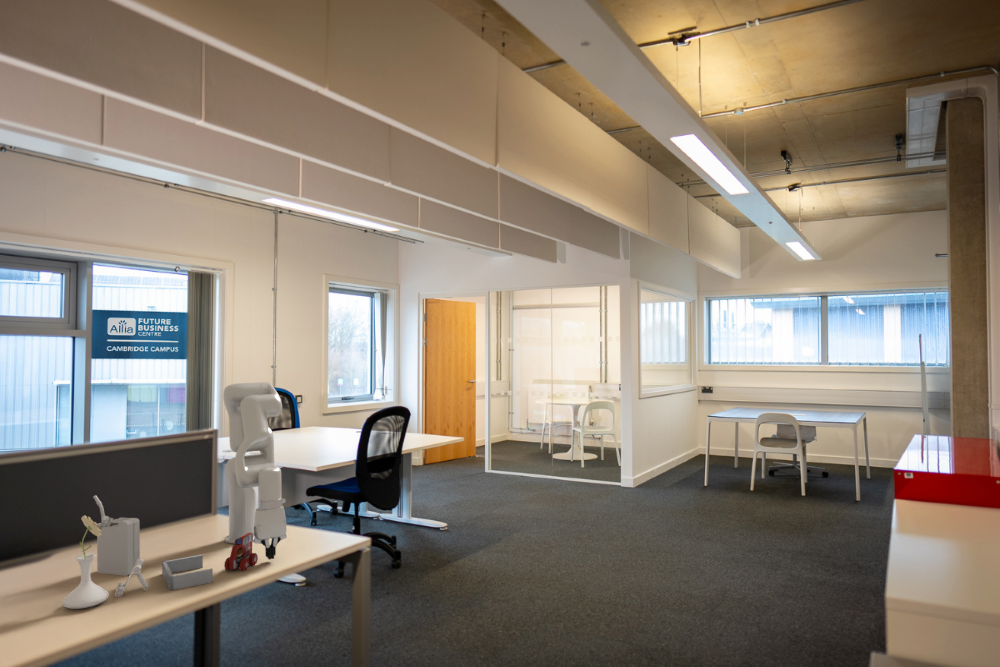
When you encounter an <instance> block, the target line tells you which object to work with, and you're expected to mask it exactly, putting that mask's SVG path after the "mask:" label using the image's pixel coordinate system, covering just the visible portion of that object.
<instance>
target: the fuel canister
mask: <svg viewBox="0 0 1000 667" xmlns="http://www.w3.org/2000/svg"><path fill="white" fill-rule="evenodd" d="M92 498H93V499H94V500H95V503H96V505H97V506H98V507H99V512H100V516H101V517H100V518H101V519H100V520H101V522H99V523H97V525H96V526H97V527H98V528H99V529H100V530H101V532H100V533H101V534H102V536H100V537H98V536H96V537H97V538H96V540H97V541H96V544H97V546H96V547H97V550H96V551H97V552H96V553H97V554H96V556H97V557H96V558H97V560H96V562H97V564H96V565H97V573H99V574H108V575H115V576H117V575H118V576H125V577H127V576H129V575H130V573H131V571H132V569H133V567H134V565H135V562H136V561H137V559H139V558H141V554H140V553H141V552H140V550H141V549H140V548H141V547H140V545H141V544H140V543H141V542H140V540H141V538H140V536H141V535H140V519H139V518H137V517H118V518H115V519H114V518H113V517H110V516H108V515H105V510H104V506H103V503H102V501H101V500H100V499H99V497H98V496H97V495H93V496H92Z"/></svg>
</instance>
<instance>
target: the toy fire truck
mask: <svg viewBox="0 0 1000 667" xmlns="http://www.w3.org/2000/svg"><path fill="white" fill-rule="evenodd" d="M252 540H253V533H247V534H245V535H243V536H242V537H240V538H239V539H236V540H235V544H233V546H232V548H231V551H230V556H228V557H227V558H226V559H225V561H224V565H223V567H224V569H225V571H233V570H236V569H239V570H240V571H241V572H246V571H248V569H249V566H250V567H254V566H256V565H257V563H258V558H259V557H258V554H257V553H256V552H253V541H252ZM255 564H256V565H255Z"/></svg>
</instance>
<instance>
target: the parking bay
mask: <svg viewBox="0 0 1000 667" xmlns="http://www.w3.org/2000/svg"><path fill="white" fill-rule="evenodd" d="M203 559H204V558H203V554H198V555H192V556H186V557H181V558H175V559H170V560H169V559H168V560H164V561H161V565H162V566H161V572H162V576H163V579H164V581H165V583H166V585H167V587H168V589H169V591H175V590H180V589H184V588H189V587H194V586H199V585H205V584H211V583H213V582H214V581H213V579H214V578H213V577H214V576H213V568H208V569H207V568H206V569H201V568H203V566H204V563H203V562H204V560H203ZM196 569H201V570H196ZM191 570H196V571H191ZM185 571H191V572H186V573H181V572H185ZM175 573H179V574H175ZM174 574H175V575H174Z"/></svg>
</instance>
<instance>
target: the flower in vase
mask: <svg viewBox="0 0 1000 667" xmlns="http://www.w3.org/2000/svg"><path fill="white" fill-rule="evenodd" d="M80 519H81V520H82V523H83V525H84V527H86V530H85V533H84V535H83V537H82V539H81V541H79V544H80V545H79V546H80V547H82V548H81V549H82V551H81V552H82V553H83V554H81V555H78V556H76V557H75V558H74V559H75V560H76V561H77V562H78V564H79V567H80V575H81V576H80V581H79V584H78V585H77V586H76V587H75V588H74V589H73V590H72V591H70V592H69V593H68V594H67V595H66V596H65V597H64V598H63V599H62V600H63V601H62V602H61V604H62V606H63V607H64V608H66V609H72V610H73V609H75V610H77V609H78V610H79V609H85V608H90V607H94V606H97V605H99V604H101V603H103V602H105V601H106V600H107V599H108V598H109V596H110V594H109V591H107V589H105V588H103V587H101V586H100V585H98V584H96V583H94V582H93V580H92V579H91V568H92V563H93V562H94V559H95V557H96V556H97V554H95V553H85V551H87V550H89V549H90V548H92V545H91V544H89V546H87V548H85V547H84V540H85V538H86V535H87V534H88V531H89V532H90V533H92V534H93V535H94V536H96V537H97V536H98V537H100V536H102V534H101V533H100V532H101V530H100V529H101V528H99V527H98V526H97V524H98V523H97V522H96V521H93V519H91V517H90V516H86V515H85V514H84V515H83V516H81V518H80Z"/></svg>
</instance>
